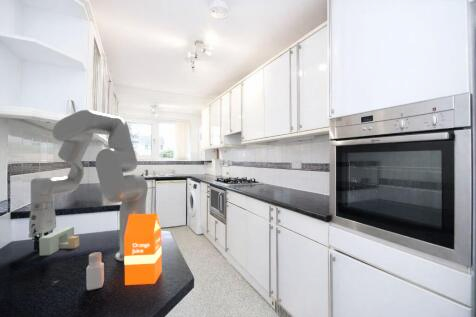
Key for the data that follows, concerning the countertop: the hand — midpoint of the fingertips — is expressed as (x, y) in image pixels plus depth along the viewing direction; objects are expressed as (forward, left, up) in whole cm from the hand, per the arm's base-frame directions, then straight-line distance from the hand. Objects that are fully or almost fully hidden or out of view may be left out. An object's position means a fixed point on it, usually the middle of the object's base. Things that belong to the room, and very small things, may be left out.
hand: (42, 247), depth 100 cm
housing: (-6, 0, -1) cm, 6 cm away
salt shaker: (-40, +37, -1) cm, 54 cm away
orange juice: (-53, +34, -1) cm, 63 cm away
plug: (-7, 0, -1) cm, 7 cm away
